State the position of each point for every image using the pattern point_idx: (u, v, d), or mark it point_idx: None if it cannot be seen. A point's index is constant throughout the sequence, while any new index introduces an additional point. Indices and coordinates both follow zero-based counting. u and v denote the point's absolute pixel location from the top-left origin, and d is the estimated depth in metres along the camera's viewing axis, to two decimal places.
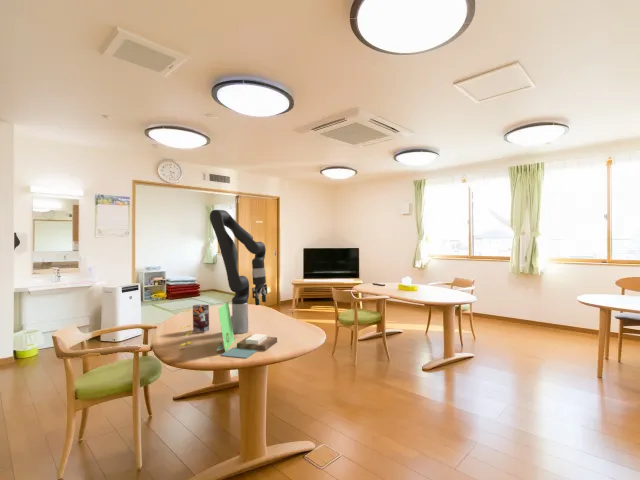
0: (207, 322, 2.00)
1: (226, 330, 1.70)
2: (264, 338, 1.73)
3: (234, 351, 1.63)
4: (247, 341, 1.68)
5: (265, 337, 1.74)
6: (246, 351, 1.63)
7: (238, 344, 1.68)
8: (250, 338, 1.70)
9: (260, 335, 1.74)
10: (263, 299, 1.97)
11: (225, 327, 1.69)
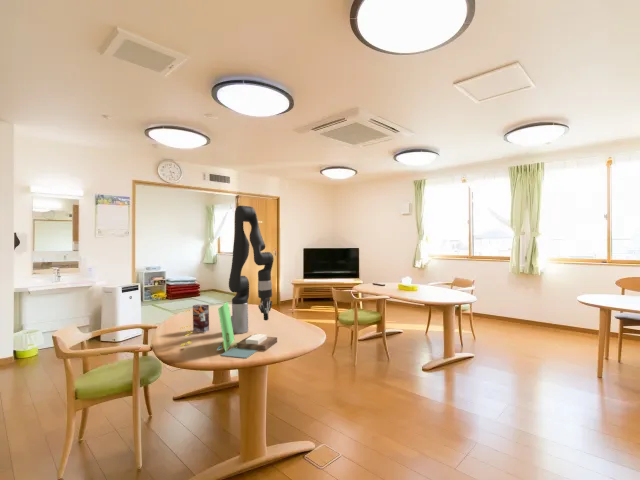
0: (207, 322, 2.00)
1: (226, 330, 1.70)
2: (264, 338, 1.73)
3: (234, 351, 1.63)
4: (247, 341, 1.68)
5: (265, 337, 1.74)
6: (246, 351, 1.63)
7: (238, 344, 1.68)
8: (250, 338, 1.70)
9: (260, 335, 1.74)
10: None
11: (225, 327, 1.69)
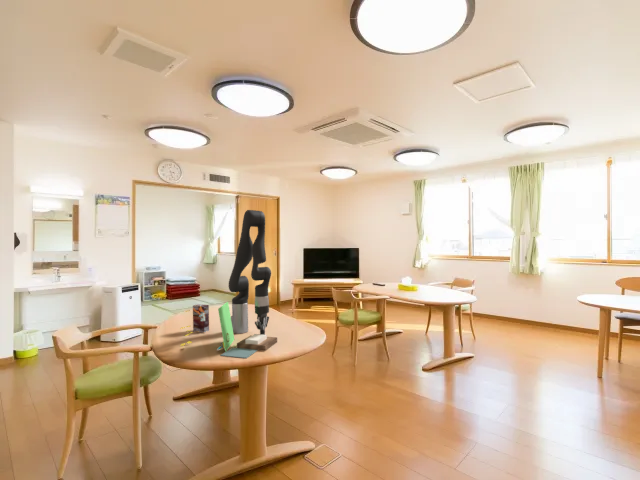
0: (207, 322, 2.00)
1: (226, 330, 1.70)
2: (264, 338, 1.73)
3: (234, 351, 1.63)
4: (247, 341, 1.68)
5: (265, 337, 1.74)
6: (246, 351, 1.63)
7: (238, 344, 1.68)
8: (250, 338, 1.69)
9: (260, 335, 1.74)
10: (262, 333, 1.78)
11: (225, 327, 1.69)
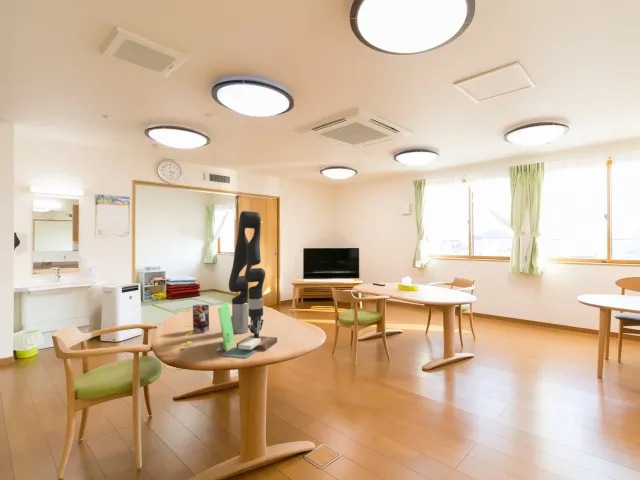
0: (207, 322, 2.00)
1: (226, 330, 1.70)
2: (258, 342, 1.66)
3: (234, 351, 1.63)
4: (240, 346, 1.61)
5: (259, 341, 1.67)
6: (246, 351, 1.63)
7: None
8: (243, 343, 1.63)
9: (254, 339, 1.67)
10: (256, 337, 1.71)
11: (225, 327, 1.69)
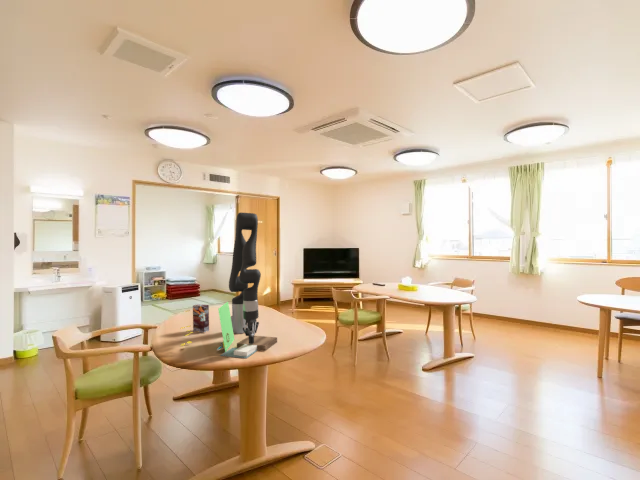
0: (207, 322, 2.00)
1: (226, 330, 1.70)
2: (254, 349, 1.62)
3: None
4: (235, 353, 1.57)
5: (255, 348, 1.63)
6: None
7: (238, 344, 1.68)
8: (239, 349, 1.59)
9: (250, 346, 1.64)
10: None
11: (225, 327, 1.69)
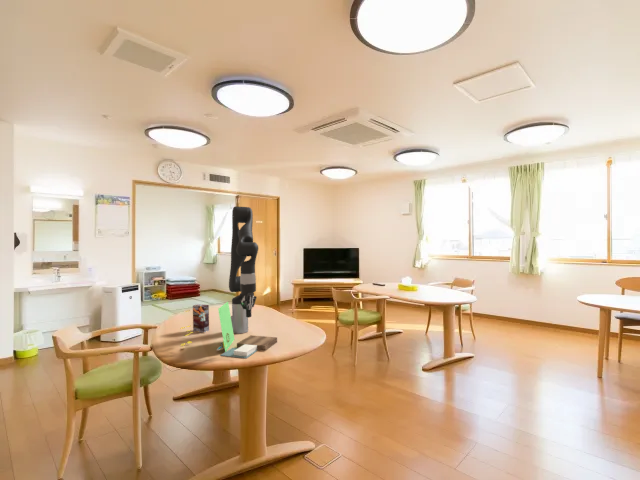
0: (207, 322, 2.00)
1: (226, 330, 1.70)
2: (254, 349, 1.62)
3: None
4: (235, 353, 1.57)
5: (255, 348, 1.63)
6: None
7: (238, 344, 1.68)
8: (239, 349, 1.59)
9: (250, 346, 1.64)
10: None
11: (225, 327, 1.69)
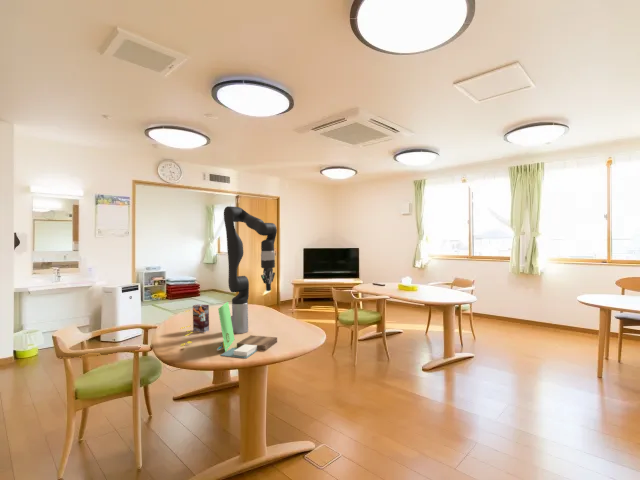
0: (207, 322, 2.00)
1: (226, 330, 1.70)
2: (254, 349, 1.62)
3: None
4: (235, 353, 1.57)
5: (255, 348, 1.63)
6: None
7: (238, 344, 1.68)
8: (239, 349, 1.59)
9: (250, 346, 1.64)
10: None
11: (225, 327, 1.69)
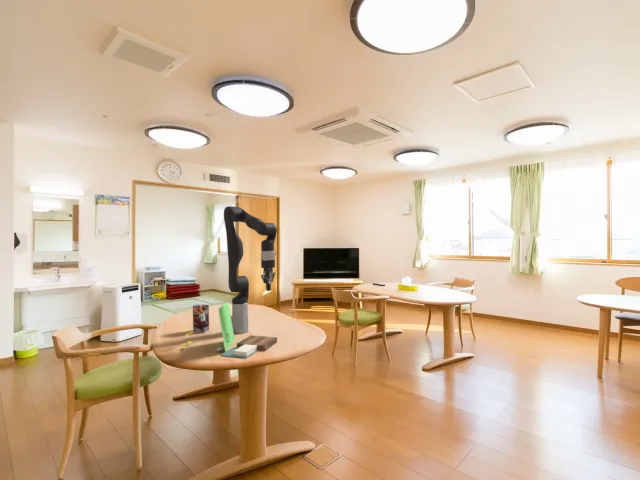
0: (207, 322, 2.00)
1: (226, 330, 1.70)
2: (254, 349, 1.62)
3: None
4: (235, 353, 1.57)
5: (255, 348, 1.63)
6: None
7: (238, 344, 1.68)
8: (239, 349, 1.59)
9: (250, 346, 1.64)
10: None
11: (225, 327, 1.69)
